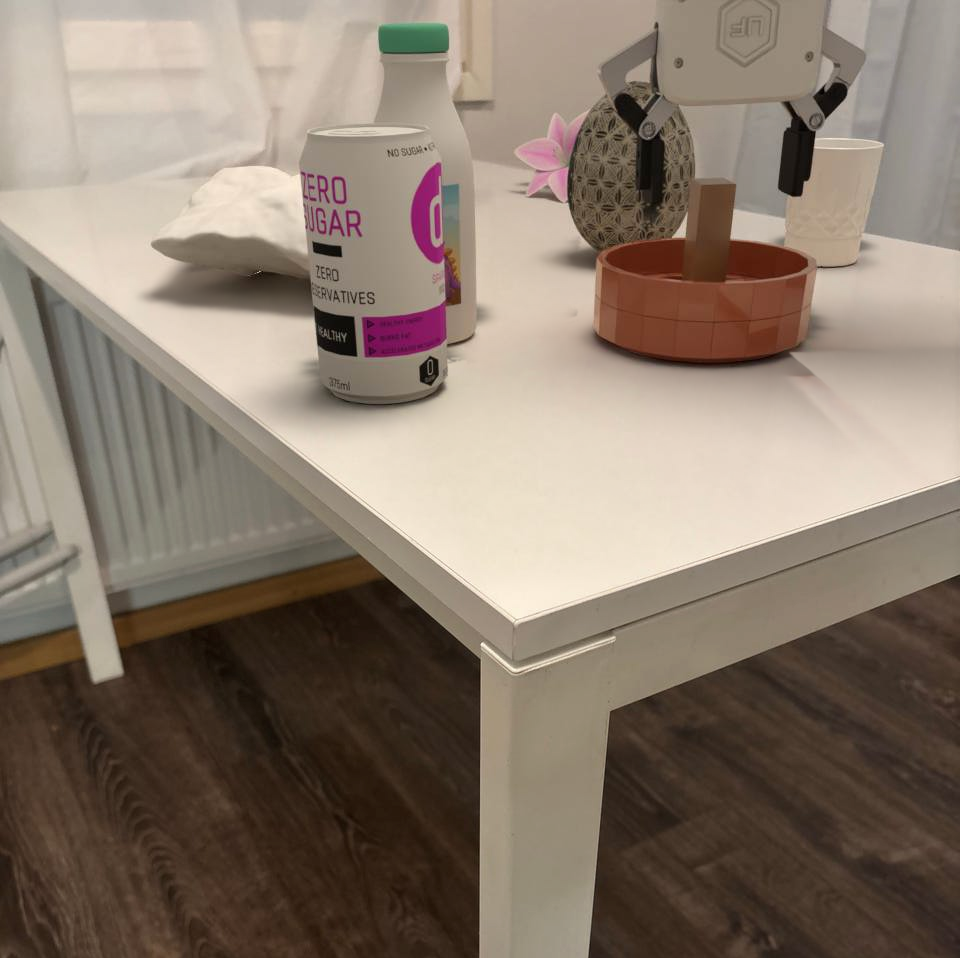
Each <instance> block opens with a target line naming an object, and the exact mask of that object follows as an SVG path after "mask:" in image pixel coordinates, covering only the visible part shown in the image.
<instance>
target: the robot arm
mask: <svg viewBox="0 0 960 958" xmlns="http://www.w3.org/2000/svg"><path fill="white" fill-rule="evenodd" d="M824 4H825V0H655V9H654V16H653V23H652V29H651V30H650V31H648V32H646V33H645V34H643V35H642V36H640V37H639V38H637V39H636V40H634V41H633V42H631V43H629V44H628V45H626V46H624V47H623V48H622V49H620V50H619V51H616V53H613V54H612V55H611V56H609V57H608V58H606V59H605V60H603V61H602V62H600V63H599V64H598V66H597V70H596V71H597V72H596V73H597V75H598V78H599V80H600V83H601V85H602V87H603V89H604V92H605V94H607V96H608V98H609V100H610V102H611V106H612V108H613V110H614V111H615V112H616V113H617V114H618V115H619V117H620V118H621V119H622V120H623V121H624V122H625V123H626V124H627V125H628V127H629V128H630V129H631V130H632V132H633V133H634V134H635V135H636V136H637V143H636V169H635V187H636V190H642V198H643V200H645V201H646V202H647V203H649V204H650V205H658V204H659V202H662V190H663V171H664V151H665V142H664V141H663V140H662V139H660V129H661V128H662V126H663V125H664V124H665V123H666V121H667V120H668V119H669V117H670V116H671V115H672V113H673V112H674V111H675V109H676V108H677V107H678V106H679V107H680V106H683V107H711V106H713V107H714V106H731V105H750V104H751V105H753V104H768V103H769V104H770V103H780V104H781V106H782V108H783V109H784V110H785V112H786V113H787V115H788V117H789V118H790V126H788V127H786V128H785V129H784V131H783V135H782V144H781V155H780V162H779V171H778V179H777V180H778V181H777V190H778V191H780V192H781V193H783V194H785V195H786V196H787V195H790V196H792V197H801V196H802V193H803V186H804V181H808V180H809V179H810V175H811V168H812V160H813V152H814V144H815V138H816V134H817V131H820V130H821V129H822V128H823V127H824V126H825V125H824V124H825V122H826V120H827V119H828V118H829V117H830V116H831V115H832V114H833V113H834V111H835V110H836V109H837V108H838V107H839V106H841V104H843V102H844V101H845V100H846V99H847V96H848V92H849V90H850V88H851V86H853V84H854V83H855V81H856V78H857V77H858V75H859V73H860V72H861V70H862V68H863V67H864V65H865V63H866V61H867V53H866V52H865V51H864V49H861V48H860V47H859V46H857V45H855V44H854V43H852V42H850V41H849V40H846V39H845V38H844V37H842V36H840V35H839V34H837V33H835V32H834V31H832V30H830V28H827V27H826V26H825V25H823V24H824ZM821 56H823V57H825V58H826V59H828V60H829V61H831V63H832V65H833V69H832V72H831V73H830V75H829V78H828V80H827V82H825V84H823V85H822V86H821V88H819V89H818V91H816V93H815V94H814V95H812V92H813V91H814V90H815V87H816V85H817V83H818V78H819V73H820V66H821V65H820V63H821V58H822V57H821ZM648 60H649V83H650V87H651V91H652V93H653V94H652V95H651V97H650V98H649V99H648V101H647V102H646V103H645V105H644V106H643V107H642V108H641V107H640V105H639V104H638V103H637V102H636V101H635V100H634V99H633V97H632V96H631V95H630V93H629V90H628V88H627V85H626V81H627V80H626V77H627V75H628V74H629V73H630V72H631V71H632V70H634V69H635V68H637V67H639V66H641V65H642V64H644V63H646V61H648Z"/></svg>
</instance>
